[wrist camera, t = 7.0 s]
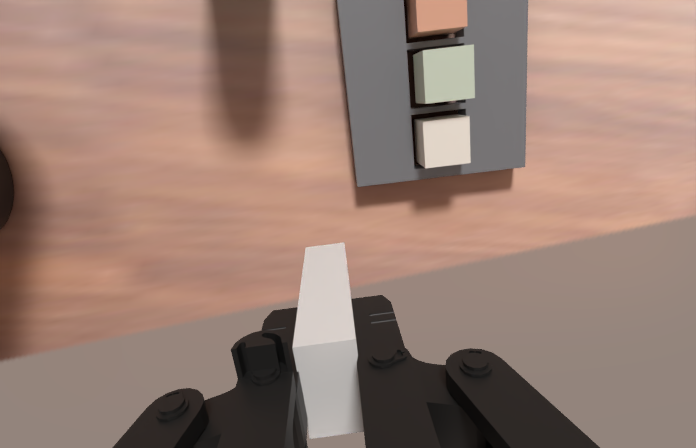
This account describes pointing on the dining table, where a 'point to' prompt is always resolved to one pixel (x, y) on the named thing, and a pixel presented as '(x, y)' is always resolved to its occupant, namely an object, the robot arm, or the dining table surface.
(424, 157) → the cream cube
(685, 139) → the dining table surface
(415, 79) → the tile two bar
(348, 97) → the tile board
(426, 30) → the orange cube
